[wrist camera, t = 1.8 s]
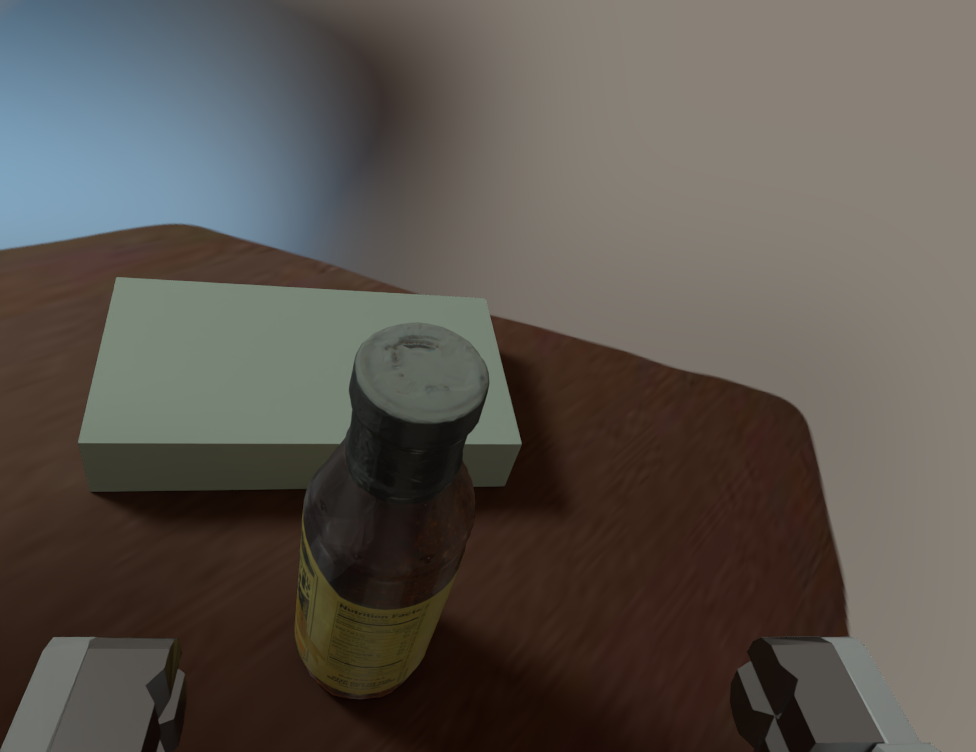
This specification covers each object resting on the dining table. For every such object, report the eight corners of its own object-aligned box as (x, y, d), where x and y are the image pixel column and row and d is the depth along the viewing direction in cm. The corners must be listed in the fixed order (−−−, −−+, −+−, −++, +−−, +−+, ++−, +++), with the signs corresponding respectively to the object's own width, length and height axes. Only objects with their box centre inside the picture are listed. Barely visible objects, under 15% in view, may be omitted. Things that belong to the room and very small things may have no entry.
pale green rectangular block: (90, 491, 39) (77, 443, 36) (124, 327, 47) (116, 277, 44) (504, 486, 45) (521, 444, 42) (472, 341, 53) (485, 298, 50)
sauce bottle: (331, 563, 39) (379, 257, 25) (443, 614, 38) (555, 329, 24) (263, 680, 34) (274, 384, 20) (389, 739, 34) (489, 477, 20)
